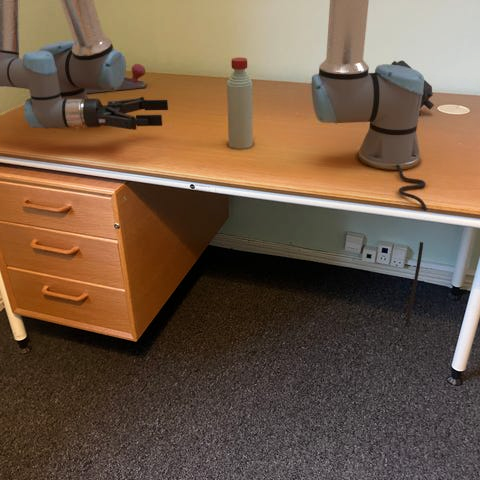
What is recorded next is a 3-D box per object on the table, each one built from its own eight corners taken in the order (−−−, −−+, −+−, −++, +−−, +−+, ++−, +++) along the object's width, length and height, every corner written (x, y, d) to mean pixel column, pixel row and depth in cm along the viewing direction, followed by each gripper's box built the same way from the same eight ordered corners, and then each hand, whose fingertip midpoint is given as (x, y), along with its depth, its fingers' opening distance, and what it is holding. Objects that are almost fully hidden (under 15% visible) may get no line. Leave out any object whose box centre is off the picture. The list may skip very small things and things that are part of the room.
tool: (372, 91, 179) (399, 54, 168) (415, 128, 175) (445, 93, 164) (364, 95, 175) (390, 58, 165) (407, 134, 171) (437, 98, 160)
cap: (250, 66, 139) (250, 58, 138) (241, 70, 136) (241, 61, 135) (237, 64, 141) (237, 56, 140) (228, 68, 138) (228, 59, 137)
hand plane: (62, 90, 197) (53, 48, 189) (145, 82, 205) (140, 41, 197) (62, 96, 191) (54, 53, 184) (148, 87, 199) (143, 45, 191)
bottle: (257, 143, 150) (257, 59, 138) (243, 150, 146) (242, 65, 133) (237, 138, 154) (236, 56, 141) (224, 145, 149) (220, 61, 137)
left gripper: (98, 112, 155) (170, 112, 155) (76, 142, 134) (160, 141, 134) (94, 86, 151) (168, 86, 151) (70, 113, 130) (157, 112, 130)
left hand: (165, 112), depth 143 cm, fingers open, 13 cm apart
